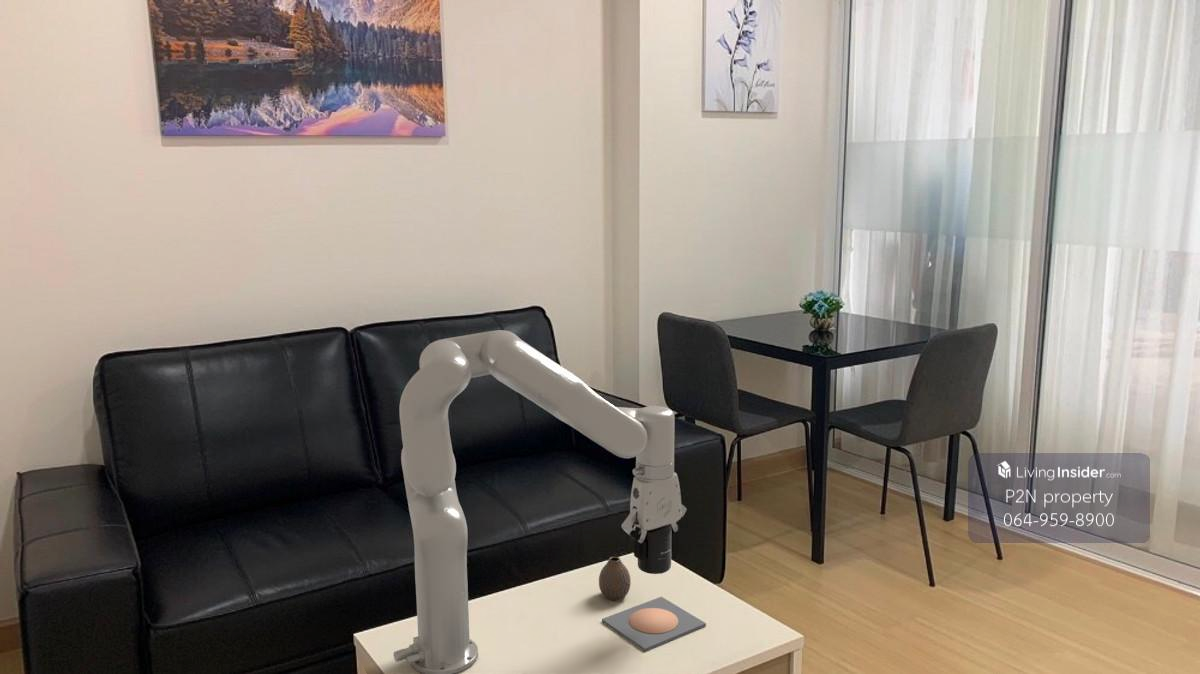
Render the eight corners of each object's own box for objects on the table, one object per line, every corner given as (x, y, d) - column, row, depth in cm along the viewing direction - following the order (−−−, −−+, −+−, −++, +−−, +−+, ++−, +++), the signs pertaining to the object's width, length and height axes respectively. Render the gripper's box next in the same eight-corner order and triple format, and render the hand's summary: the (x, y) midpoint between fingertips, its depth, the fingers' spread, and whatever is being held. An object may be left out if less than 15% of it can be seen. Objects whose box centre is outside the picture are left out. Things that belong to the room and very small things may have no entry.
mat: (644, 651, 164) (644, 647, 164) (601, 621, 176) (601, 618, 175) (705, 625, 174) (706, 622, 174) (661, 599, 185) (661, 595, 185)
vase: (594, 601, 184) (594, 563, 182) (604, 587, 190) (603, 550, 189) (625, 606, 182) (625, 567, 180) (634, 591, 188) (634, 554, 187)
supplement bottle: (669, 576, 168) (669, 519, 166) (635, 573, 170) (634, 516, 168) (673, 561, 175) (673, 505, 173) (640, 558, 176) (640, 503, 174)
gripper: (632, 484, 160) (632, 572, 164) (700, 465, 171) (699, 548, 174) (608, 473, 166) (608, 558, 170) (675, 455, 177) (674, 536, 180)
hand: (654, 552), depth 172 cm, fingers closed on supplement bottle, 6 cm apart
